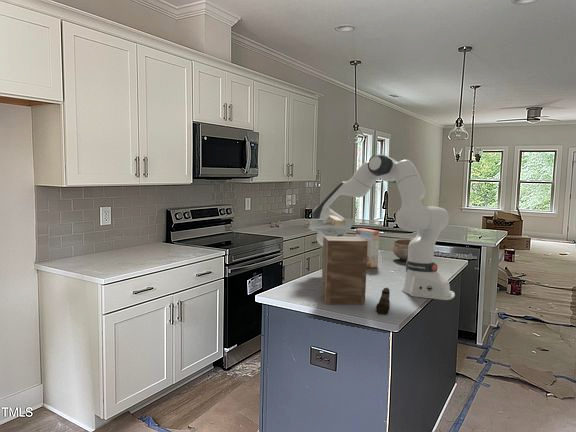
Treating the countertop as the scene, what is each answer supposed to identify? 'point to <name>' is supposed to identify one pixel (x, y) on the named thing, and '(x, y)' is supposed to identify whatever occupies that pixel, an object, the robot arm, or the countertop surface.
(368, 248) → the cracker box
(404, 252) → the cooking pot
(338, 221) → the oak slat
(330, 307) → the countertop surface
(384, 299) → the hand tool
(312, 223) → the robot arm
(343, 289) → the wooden shelf
